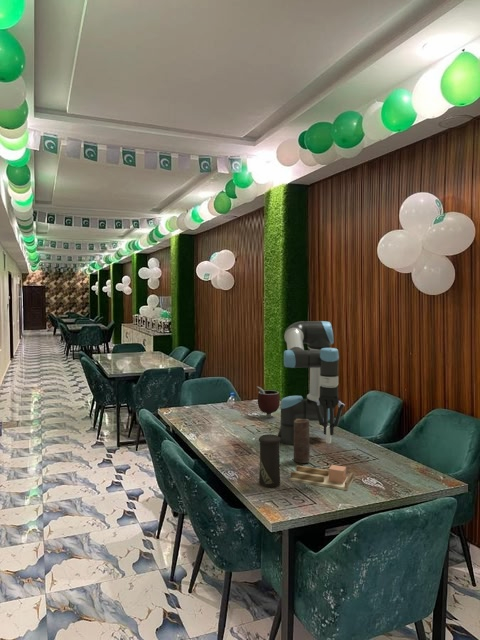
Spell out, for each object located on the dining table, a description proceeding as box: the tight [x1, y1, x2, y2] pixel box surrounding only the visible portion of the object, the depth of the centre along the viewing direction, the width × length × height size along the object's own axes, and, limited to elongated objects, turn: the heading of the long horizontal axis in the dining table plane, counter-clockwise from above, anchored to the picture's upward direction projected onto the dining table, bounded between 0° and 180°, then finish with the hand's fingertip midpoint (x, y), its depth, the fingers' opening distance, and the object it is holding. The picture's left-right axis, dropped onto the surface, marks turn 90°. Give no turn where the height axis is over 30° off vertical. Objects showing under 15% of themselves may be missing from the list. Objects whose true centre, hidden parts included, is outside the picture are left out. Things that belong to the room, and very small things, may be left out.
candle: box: [293, 419, 311, 464], centre depth 213 cm, size 8×7×20 cm
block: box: [328, 464, 347, 483], centre depth 189 cm, size 6×5×5 cm
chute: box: [288, 464, 354, 491], centre depth 192 cm, size 24×12×3 cm, turn 65°
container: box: [258, 434, 281, 489], centre depth 188 cm, size 9×9×20 cm
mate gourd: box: [256, 386, 281, 422], centre depth 291 cm, size 16×14×20 cm
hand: (328, 442), depth 191 cm, fingers closed
